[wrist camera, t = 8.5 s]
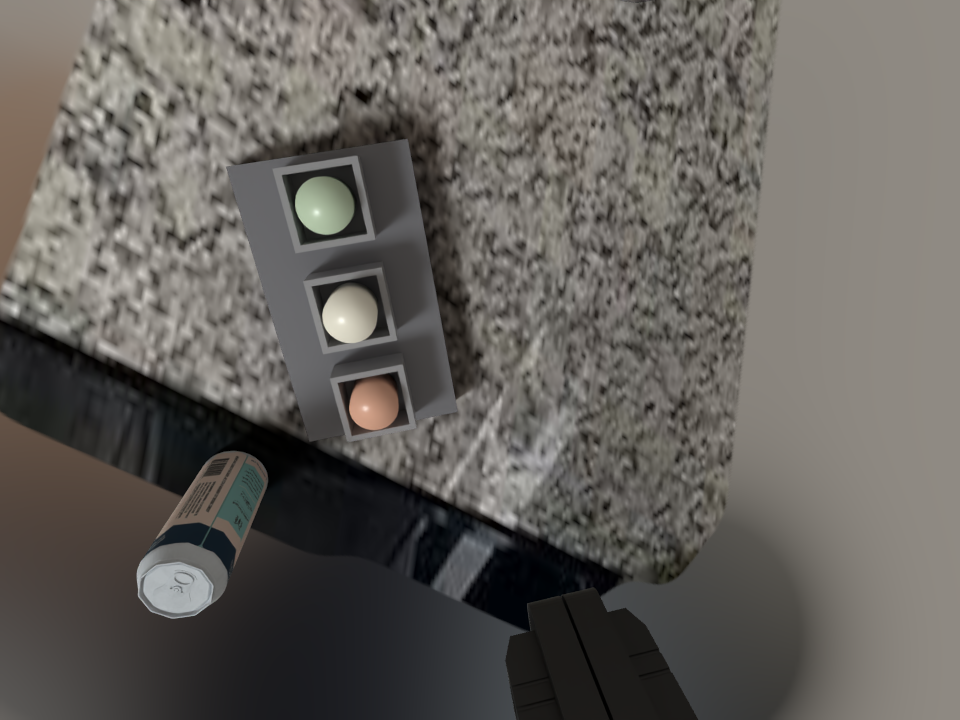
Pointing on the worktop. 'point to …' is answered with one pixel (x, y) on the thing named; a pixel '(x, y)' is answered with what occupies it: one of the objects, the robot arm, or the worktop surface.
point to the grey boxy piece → (349, 259)
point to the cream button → (351, 313)
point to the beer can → (202, 537)
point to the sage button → (325, 204)
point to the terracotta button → (374, 401)
